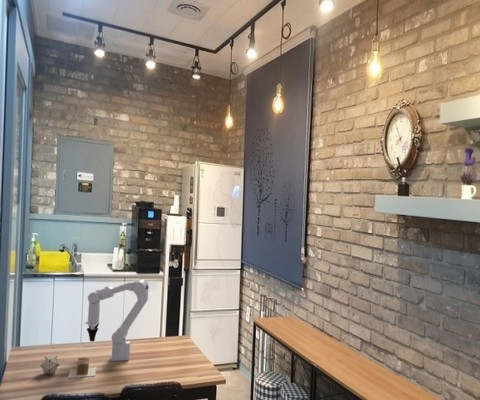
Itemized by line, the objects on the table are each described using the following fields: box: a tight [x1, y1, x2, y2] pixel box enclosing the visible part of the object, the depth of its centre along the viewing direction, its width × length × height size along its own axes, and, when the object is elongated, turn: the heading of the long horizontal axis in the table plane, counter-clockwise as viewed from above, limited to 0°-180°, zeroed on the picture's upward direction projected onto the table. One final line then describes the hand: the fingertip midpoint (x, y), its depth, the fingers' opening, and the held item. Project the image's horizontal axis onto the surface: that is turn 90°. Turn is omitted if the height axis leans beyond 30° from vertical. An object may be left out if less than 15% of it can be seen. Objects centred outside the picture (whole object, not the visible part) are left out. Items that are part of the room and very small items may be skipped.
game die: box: [39, 355, 61, 376], centre depth 191 cm, size 9×8×10 cm
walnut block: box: [76, 356, 90, 375], centre depth 194 cm, size 5×5×9 cm
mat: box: [67, 367, 97, 379], centre depth 193 cm, size 12×10×1 cm
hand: (92, 338), depth 213 cm, fingers open, 7 cm apart
